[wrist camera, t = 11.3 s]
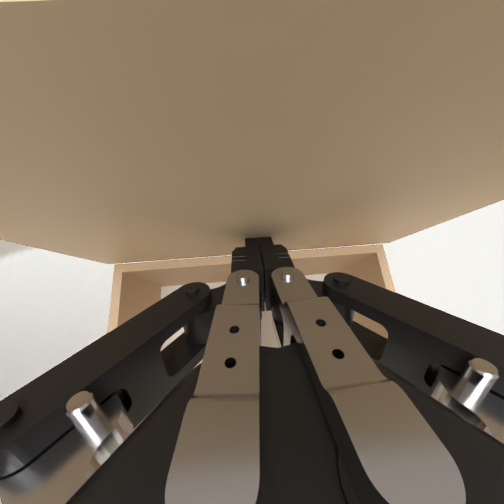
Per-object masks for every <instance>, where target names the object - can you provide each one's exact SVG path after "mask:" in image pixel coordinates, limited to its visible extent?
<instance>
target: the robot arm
mask: <svg viewBox="0 0 504 504" xmlns="http://www.w3.org/2000/svg"><path fill="white" fill-rule="evenodd" d="M265 307H266V311H272V325H273V328H274V332H275V335H276V339H277V342H278V346H279V348H274V347H266V346H261V320H262V311H265ZM355 312H357V313H359V314H361V315H363V316H365V317H367V318H369V319H371V320H373V321H375V322H377V323H379V324H381V325H382V326H383V327H384V328H385V329H386V330H387V332H388V339H387V338H385V337H383V336H381V335H379V334H377V333H375V332H373V331H372V330H370V329H368V328H366V327H364V326H362V325H360V324H359V323H357V322H355V321H353V318H354V313H355ZM182 327H183V328H184V332H183V333H182V334H181V335H180V336H179V337H177V338H176V339H175V340H174V341H173V342H171V343H170V344H169V345H168V346H166V347H165V348H164V349H163V350H162V351H160V350H161V347H162V345H163V344H164V342H165V341H166V340H167V339H169V338H170V337H171V336H172V335H174V334H175V333H176V332H177V331H179V330H180V329H181V328H182ZM202 359H203V360H202ZM201 360H202V363H201V364H199V365H198V366H196V365H197V364H198V363H199V362H200V361H201ZM195 366H196V367H195ZM194 367H195V368H194ZM151 411H152V412H151ZM150 412H151V413H150ZM149 413H150V414H149ZM148 414H149V415H148ZM147 415H148V416H147ZM146 416H147V417H146ZM145 417H146V418H145ZM144 418H145V419H144ZM143 419H144V420H143ZM142 420H143V421H142ZM141 421H142V422H141ZM140 422H141V423H140ZM139 423H140V424H139ZM138 424H139V425H138ZM137 425H138V426H137ZM136 426H137V428H136V429H135V430H134V431H133V429H134V428H135V427H136ZM0 498H1V502H2V504H504V335H501V334H499V333H496V332H494V331H491V330H489V329H486V328H484V327H481V326H479V325H476V324H474V323H471V322H468V321H466V320H463V319H461V318H458V317H456V316H453V315H451V314H448V313H446V312H443V311H441V310H438V309H436V308H433V307H431V306H428V305H425V304H423V303H420V302H418V301H415V300H413V299H410V298H408V297H405V296H403V295H400V294H398V293H395V292H393V291H390V290H388V289H385V288H383V287H380V286H377V285H375V284H372V283H370V282H367V281H365V280H362V279H360V278H357V277H355V276H352V275H350V274H346V273H342V272H333V273H329V274H327V275H326V276H325V277H324V281H315V280H309V279H306V277H305V276H304V274H303V273H302V272H301V271H300V270H299V269H296V268H295V267H294V264H293V262H292V260H291V258H290V255H289V254H288V251H287V249H286V247H284V246H283V245H281V244H277V245H274V244H273V241H272V238H271V237H260V238H246V239H245V247H236V248H235V249H234V250H233V251H232V262H231V274H230V275H229V276H228V278H227V281H226V284H224V285H222V286H220V287H217V288H214V289H210V288H209V286H208V285H207V284H205V283H202V282H192V283H188V284H185V285H183V286H181V287H180V288H178V289H177V290H175V291H174V292H172V293H170V294H169V295H167V296H166V297H164V298H163V299H161V300H159V301H158V302H156V303H155V304H153V305H151V306H150V307H148V308H147V309H145V310H144V311H142V312H140V313H139V314H137V315H136V316H134V317H133V318H131V319H129V320H128V321H126V322H125V323H123V324H121V325H120V326H118V327H117V328H115V329H114V330H112V331H110V332H109V333H107V334H106V335H104V336H103V337H101V338H99V339H98V340H96V341H95V342H93V343H91V344H90V345H88V346H87V347H85V348H84V349H82V350H80V351H79V352H77V353H76V354H74V355H73V356H71V357H69V358H68V359H66V360H65V361H63V362H61V363H60V364H58V365H57V366H55V367H54V368H52V369H50V370H49V371H47V372H46V373H44V374H43V375H41V376H39V377H38V378H36V379H35V380H33V381H31V382H30V383H28V384H27V385H25V386H24V387H22V388H20V389H19V390H17V391H16V392H14V393H13V394H11V395H9V396H8V397H6V398H5V399H3V400H1V401H0Z"/></svg>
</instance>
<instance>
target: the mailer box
mask: <svg viewBox="0 0 504 504" xmlns="http://www.w3.org/2000/svg"><path fill="white" fill-rule="evenodd" d="M288 254H289V255H290V258H291V260H292V262H293V264H294V267H295V268H296V269H299V270H300V271H301V272H302V273H303V274H304V276H305V277H306V279H309V280H315V281H324V277H325V276H326V275H327V274H329V273H333V272H342V273H346V274H350V275H352V276H355V277H357V278H360V279H362V280H365V281H367V282H370V283H372V284H375V285H377V286H380V287H383V288H385V289H388V290H390V291H393V292H395V289H394V285H393V282H392V278H391V274H390V271H389V267H388V263H387V259H386V256H385V252H384V248H383V245H382V244H380V245H367V246H354V247H341V248H328V249H314V250H301V251H288ZM231 262H232V256H222V257H209V258H196V259H183V260H170V261H156V262H143V263H130V264H117V265H114V275H113V285H112V295H111V305H110V315H109V324H108V333H109V332H110V331H112V330H114V329H115V328H117V327H118V326H120V325H121V324H123V323H125V322H126V321H128V320H129V319H131V318H133V317H134V316H136V315H137V314H139V313H140V312H142V311H144V310H145V309H147V308H148V307H150V306H151V305H153V304H155V303H156V302H158V301H159V300H161V299H163V298H164V297H166V296H167V295H169V294H170V293H172V292H174V291H175V290H177V289H178V288H180V287H181V286H183V285H185V284H188V283H192V282H202V283H205V284H207V285H208V286H209V288H210V289H214V288H217V287H220V286H222V285H224V284H226V281H227V278H228V276H229V275H230V274H231ZM353 321H355V322H357V323H359V324H360V325H362V326H364V327H366V328H368V329H370V330H372V331H373V332H375V333H377V334H379V335H381V336H383V337H385V338H387V339H388V332H387V330H386V329H385V328H384V327H383V326H382V325H381V324H379V323H377V322H375V321H373V320H371V319H369V318H367V317H365V316H363V315H361V314H359V313H357V312H355V313H354V318H353ZM183 332H184V328H183V327H182V328H181V329H180V330H179V331H177V332H176V333H175V334H174V335H172V336H171V337H170V338H169V339H167V340H166V341H165V342H164V344H163V345H162V347H161V350H160V351H162V350H163V349H164V348H165V347H166V346H168V345H169V344H170V343H171V342H173V341H174V340H175V339H176V338H177V337H179V336H180V335H181V334H182V333H183ZM261 346H266V347H274V348H279V346H278V342H277V339H276V335H275V332H274V328H273V325H272V311H266V307H265V311H262V320H261ZM202 360H203V359H202ZM202 360H201V361H200V362H199V363H198V364H197V365H196V366H198V365H199V364H201V363H202ZM196 366H195V367H196ZM195 367H194V368H195ZM151 412H152V411H151ZM151 412H150V413H151ZM150 413H149V414H150ZM149 414H148V415H149ZM148 415H147V416H148ZM147 416H146V417H147ZM146 417H145V418H146ZM145 418H144V419H145ZM144 419H143V420H144ZM143 420H142V421H143ZM142 421H141V422H142ZM141 422H140V423H141ZM140 423H139V424H140ZM139 424H138V425H139ZM138 425H137V426H138ZM137 426H136V427H135V428H134V429H133V431H134V430H135V429H136V428H137Z"/></svg>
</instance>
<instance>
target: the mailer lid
mask: <svg viewBox="0 0 504 504" xmlns="http://www.w3.org/2000/svg"><path fill="white" fill-rule="evenodd" d="M501 200H504V0H0V240H5V241H9V242H13V243H18V244H22V245H27V246H31V247H35V248H40V249H44V250H49V251H53V252H57V253H62V254H66V255H70V256H75V257H79V258H84V259H88V260H92V261H97V262H101V263H106V264H114V263H128V262H141V261H154V260H167V259H180V258H194V257H207V256H220V255H232V251H233V250H234V249H235V248H236V247H245V239H246V238H260V237H271V238H272V241H273V244H274V245H277V244H281V245H283V246H284V247H286V249H287V250H299V249H312V248H326V247H339V246H352V245H365V244H378V243H389V242H392V241H395V240H397V239H400V238H403V237H405V236H408V235H411V234H413V233H416V232H419V231H421V230H424V229H427V228H429V227H432V226H435V225H437V224H440V223H443V222H445V221H448V220H451V219H453V218H456V217H458V216H461V215H464V214H466V213H469V212H472V211H474V210H477V209H480V208H482V207H485V206H488V205H490V204H493V203H496V202H498V201H501Z"/></svg>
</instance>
